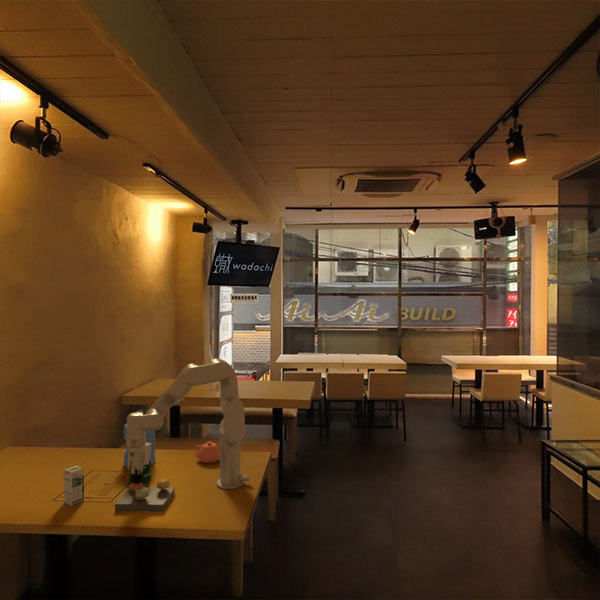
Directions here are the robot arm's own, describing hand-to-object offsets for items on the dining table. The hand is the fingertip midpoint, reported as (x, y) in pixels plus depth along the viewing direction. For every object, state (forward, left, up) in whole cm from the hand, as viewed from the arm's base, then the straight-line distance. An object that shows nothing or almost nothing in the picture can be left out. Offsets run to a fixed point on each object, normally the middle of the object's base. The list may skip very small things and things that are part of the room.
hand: (137, 482), depth 194 cm
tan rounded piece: (-12, 0, -4) cm, 12 cm away
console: (-6, +5, -6) cm, 10 cm away
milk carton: (+4, -15, -7) cm, 17 cm away
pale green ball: (-6, +9, -4) cm, 11 cm away
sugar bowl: (-22, -43, -7) cm, 48 cm away
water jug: (+13, -38, -7) cm, 41 cm away
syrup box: (+25, +5, -7) cm, 27 cm away
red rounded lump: (0, 0, -6) cm, 6 cm away
